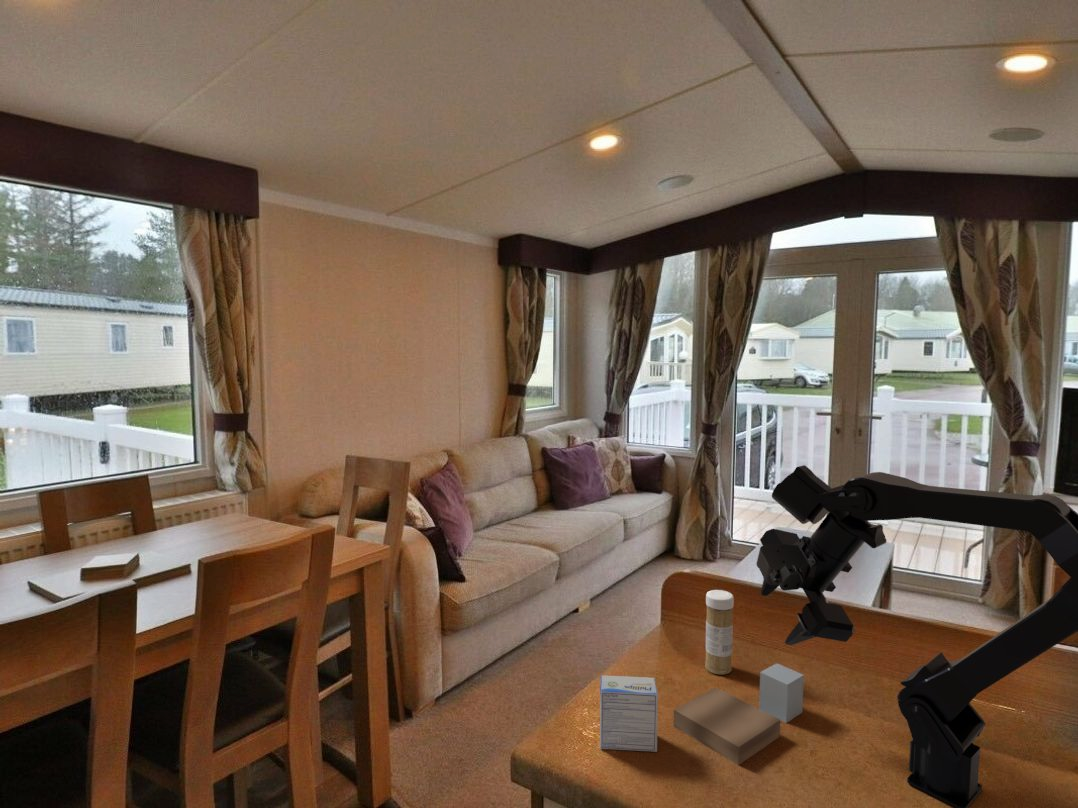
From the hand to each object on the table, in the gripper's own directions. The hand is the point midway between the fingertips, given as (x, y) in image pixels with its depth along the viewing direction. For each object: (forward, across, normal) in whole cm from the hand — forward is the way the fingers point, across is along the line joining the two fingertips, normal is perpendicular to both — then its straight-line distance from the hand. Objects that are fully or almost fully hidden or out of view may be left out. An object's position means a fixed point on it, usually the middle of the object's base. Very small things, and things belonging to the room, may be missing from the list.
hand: (775, 618), depth 96 cm
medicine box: (+16, +12, -21) cm, 29 cm away
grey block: (+11, +8, +4) cm, 14 cm away
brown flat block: (+13, +12, -6) cm, 18 cm away
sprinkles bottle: (+18, -4, +1) cm, 19 cm away
